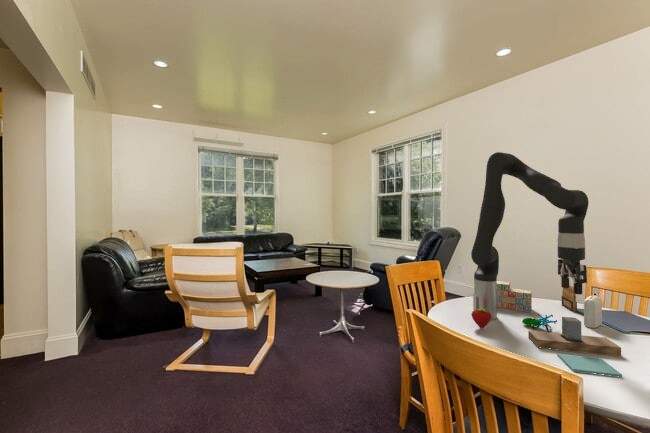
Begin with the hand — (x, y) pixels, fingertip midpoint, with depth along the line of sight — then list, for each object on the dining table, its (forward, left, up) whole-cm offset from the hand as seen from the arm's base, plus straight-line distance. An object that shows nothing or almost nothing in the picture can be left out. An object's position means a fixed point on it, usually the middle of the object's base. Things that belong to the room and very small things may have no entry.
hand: (571, 290), depth 104 cm
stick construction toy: (-4, +16, -21) cm, 26 cm away
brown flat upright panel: (+20, +48, -20) cm, 56 cm away
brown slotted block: (0, 0, -20) cm, 20 cm away
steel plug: (0, 0, -20) cm, 20 cm away
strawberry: (-27, +10, -20) cm, 35 cm away
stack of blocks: (-9, +44, -21) cm, 49 cm away
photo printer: (+19, +26, -20) cm, 38 cm away
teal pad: (-2, -14, -20) cm, 25 cm away
